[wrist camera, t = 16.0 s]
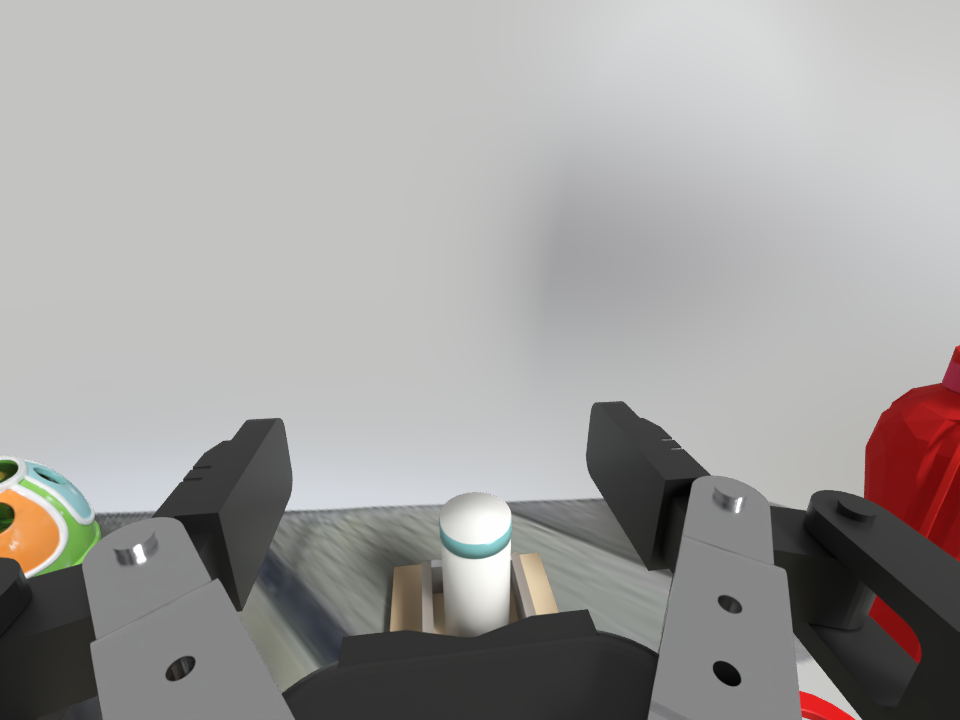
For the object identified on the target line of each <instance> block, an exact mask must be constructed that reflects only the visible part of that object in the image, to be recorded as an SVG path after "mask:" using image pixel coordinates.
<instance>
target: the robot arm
mask: <svg viewBox="0 0 960 720" xmlns="http://www.w3.org/2000/svg"><path fill="white" fill-rule="evenodd" d="M586 461H587V467H588V471H589V474H590V476H591V478H592V479H593V481H594V483H595V484H596V486H597V488H598V489H599V491H600V492H601V494H602V496H603V497H604V499H605V501H606V502H607V504H608V506H609V507H610V509H611V510H612V512H613V514H614V515H615V517H616V519H617V520H618V522H619V523H620V525H621V527H622V528H623V530H624V532H625V533H626V535H627V536H628V538H629V540H630V541H631V543H632V545H633V546H634V548H635V549H636V551H637V553H638V554H639V556H640V558H641V559H642V561H643V562H644V564H645V566H646V567H647V569H648V571H651V570H660V569H670V570H671V572H672V573H673V577H672V582H671V586H670V591H669V596H668V601H667V606H666V611H665V616H664V622H663V627H662V632H661V637H660V642H659V647H658V652H657V653H656V652H654V651H653V650H651V649H649V648H648V647H646V646H644V645H642V644H639V643H637V642H635V641H633V640H631V639H628V638H625V637H622V636H620V635H616V634H612V633H608V632H604V631H599V630H596V628H595V626H594V623H593V621H592V619H591V616H590V614H589V611H588V609H587V610H578V611H569V612H560V613H551V614H542V615H534V616H529V617H526V618H524V619H521V620H518V621H516V622H513V623H511V624H508V625H505V626H503V627H500V628H497V629H495V630H492V631H490V632H487V633H484V634H482V635H479V636H476V637H471V638H466V637H457V636H450V635H442V634H434V633H427V632H419V631H411V630H401V631H392V632H383V633H374V634H366V635H357V636H348V637H343V640H342V646H341V652H340V658H339V660H338V661H336V662H333V663H331V664H328V665H326V666H324V667H322V668H320V669H318V670H316V671H314V672H312V673H311V674H309V675H307V676H306V677H304V678H302V679H301V680H299V681H298V682H296V683H295V684H294V685H292V686H291V687H290V688H288V689H287V690H286V691H284V692H283V693H282V694H281V693H280V691H279V689H278V687H277V685H276V683H275V681H274V680H273V678H272V676H271V674H270V672H269V670H268V669H267V667H266V665H265V663H264V661H263V659H262V657H261V656H260V654H259V652H258V650H257V648H256V646H255V644H254V643H253V641H252V639H251V637H250V635H249V633H248V631H247V630H246V628H245V626H244V624H243V622H242V620H241V619H240V617H239V615H238V613H237V612H238V611H242V610H243V608H244V605H245V603H246V601H247V598H248V596H249V594H250V591H251V589H252V586H253V584H254V582H255V579H256V577H257V575H258V572H259V570H260V567H261V565H262V563H263V560H264V558H265V555H266V553H267V551H268V548H269V546H270V544H271V541H272V539H273V536H274V534H275V532H276V529H277V527H278V525H279V522H280V520H281V517H282V515H283V513H284V510H285V508H286V505H287V503H288V501H289V498H290V495H291V491H292V469H291V463H290V456H289V450H288V444H287V438H286V432H285V426H284V423H283V421H282V420H281V419H280V418H273V419H253V420H247V421H246V422H245V423H244V424H243V426H242V427H241V428H240V429H239V431H238V432H237V433H236V435H235V436H234V438H233V439H232V440H230V441H222V442H221V443H219V444H218V445H216V446H215V447H213V448H212V449H210V450H209V451H207V452H206V453H204V454H203V456H202V457H201V458H200V459H199V460H198V462H197V463H196V464H195V465H194V466H193V470H190V471H189V473H188V474H187V475H186V476H185V477H184V479H183V482H181V483H179V485H178V486H177V487H176V488H175V490H174V491H173V492H172V493H171V494H170V496H169V497H168V498H167V499H166V501H165V502H164V503H163V504H162V505H161V507H160V508H159V509H158V510H157V511H156V513H155V514H154V515H153V516H152V518H150V519H145V520H141V521H137V522H135V523H132V524H129V525H126V526H124V527H122V528H120V529H118V530H116V531H114V532H112V533H110V534H109V535H107V536H106V537H104V538H103V539H101V540H100V541H99V542H97V543H96V544H95V545H94V546H93V547H92V548H91V549H90V550H89V551H88V553H87V554H86V556H85V557H84V560H83V563H81V564H78V565H75V566H71V567H67V568H64V569H60V570H56V571H53V572H49V573H46V574H42V575H38V576H35V577H31V578H28V579H26V577H25V575H24V573H23V570H22V568H21V566H20V564H19V563H18V561H16V560H14V559H11V558H4V557H0V720H61V718H62V716H63V715H64V713H65V712H66V710H67V708H68V707H69V706H71V705H73V704H76V703H79V702H81V701H84V700H86V699H89V698H92V697H94V696H97V695H99V700H100V706H101V712H102V717H103V720H802V714H801V705H800V695H799V685H798V676H797V666H796V657H795V647H794V638H793V633H794V634H795V635H796V637H797V638H798V639H799V640H800V642H801V643H802V644H803V645H804V647H805V648H806V649H807V651H808V652H809V653H810V654H811V656H812V657H813V658H814V659H815V661H816V662H817V663H818V664H819V666H820V667H821V668H822V669H823V671H824V672H825V673H826V674H827V676H828V677H829V678H830V679H831V680H832V682H833V683H834V685H835V686H836V687H837V688H838V689H839V691H840V692H841V693H842V695H843V696H844V697H845V698H846V700H847V701H848V702H849V703H850V705H851V706H852V707H853V708H854V710H855V711H856V712H857V713H858V715H859V716H860V717H861V719H862V720H960V562H959V561H958V560H956V559H955V558H953V557H952V556H951V555H949V554H948V553H946V552H945V551H944V550H942V549H941V548H939V547H938V546H937V545H935V544H934V543H932V542H931V541H930V540H928V539H927V538H925V537H924V536H923V535H921V534H920V533H918V532H917V531H916V530H914V529H913V528H911V527H910V526H909V525H907V524H906V523H904V522H903V521H902V520H900V519H899V518H897V517H896V516H895V515H893V514H892V513H890V512H889V511H887V510H886V509H884V508H883V507H881V506H879V505H878V504H876V503H874V502H872V501H869V500H867V499H865V498H862V497H859V496H856V495H853V494H849V493H846V492H841V491H833V490H823V491H818V492H816V493H814V494H813V495H812V496H811V499H810V502H809V506H808V508H807V511H804V510H797V509H790V508H782V507H775V506H769V503H768V501H767V499H766V498H765V497H764V496H763V495H762V494H761V493H760V492H758V491H757V490H756V489H754V488H752V487H751V486H749V485H747V484H745V483H743V482H740V481H738V480H735V479H731V478H727V477H722V476H711V475H710V474H709V473H708V472H707V471H706V470H705V469H704V468H703V467H702V466H701V465H700V464H699V463H698V462H696V461H695V460H694V458H692V457H691V456H690V455H689V454H688V453H687V452H686V451H685V450H684V449H681V446H680V445H679V444H678V443H677V442H676V441H675V440H672V437H670V436H669V435H668V434H667V433H666V432H665V431H664V430H663V429H662V428H661V427H660V426H658V425H656V424H654V423H652V422H650V421H648V420H646V419H644V418H639V417H638V416H637V415H636V414H635V413H634V412H633V411H632V410H631V409H630V408H629V407H628V406H627V405H626V404H625V403H624V402H622V401H618V402H598V403H594V404H593V406H592V409H591V415H590V424H589V433H588V443H587V452H586ZM876 595H877V596H878V597H879V598H880V599H881V600H883V601H884V602H885V603H886V604H887V605H888V606H889V607H890V608H891V609H892V610H893V611H894V612H895V613H897V614H898V615H899V616H900V617H901V618H902V619H903V620H904V621H905V622H906V623H907V624H908V625H909V626H910V627H911V629H912V630H913V632H914V633H915V635H916V637H917V638H918V641H919V643H920V647H921V653H922V655H921V660H920V662H919V664H918V663H917V662H916V661H915V660H914V659H913V658H912V657H911V656H910V655H909V654H908V653H907V652H906V651H905V650H904V649H903V648H902V647H901V646H900V645H899V644H898V643H897V642H896V641H895V640H894V639H893V638H892V637H891V636H890V635H889V634H888V633H887V632H886V631H885V630H884V629H883V628H882V627H881V626H880V625H879V624H878V623H877V622H876V621H875V620H874V619H873V618H872V617H870V616H869V615H868V614H869V611H870V609H871V607H872V604H873V602H874V600H875V598H876Z"/></svg>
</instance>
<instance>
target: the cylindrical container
mask: <svg viewBox="0 0 960 720" xmlns="http://www.w3.org/2000/svg"><path fill="white" fill-rule="evenodd" d="M439 526H440V539H441V552H442V572H443V591H444V611H445V630H446V635H450V636H457V637H466V638H471V637H476V636H479V635H482V634H484V633H487V632H490V631H492V630H495V629H497V628H500V627H503V626H505V625H508V624H509V620H510V551H511V528H512V518H511V511H510V509H509V507H508V505H507V504H506V503H505V502H504V501H503V500H501V499H500V498H498V497H496V496H494V495H491V494H487V493H478V492H473V493H466V494H462V495H459V496H456V497H454V498H452V499H451V500H449V501H448V502H447V503H446V504H445V505H444V506H443V508H442V509H441V512H440V518H439Z"/></svg>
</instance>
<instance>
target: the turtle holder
mask: <svg viewBox="0 0 960 720" xmlns="http://www.w3.org/2000/svg"><path fill="white" fill-rule="evenodd" d="M94 518H95V513H94V509H93V508H92V506H91V505H90V504H89V503H88V502H87V501H86V499H85V498H84V496H83V495H82V493H81V492H80V491H79V490H78V489H77V488H76V487H75V486H74V485H73V484H72V483H71V482H69V481H68V480H67V479H66V478H64V477H63V476H61V475H60V474H58V473H56V472H55V471H54V470H53V469H52V468H50V467H48V466H46V465H43V464H41V463H39V462H35V461H32V460H26V459H21V458H19V457H16V456H11V455H10V456H9V455H8V456H7V455H6V456H0V557H4V558H11V559H14V560H16V561H18V563H19V564H20V566H21V568H22V570H23V573H24V575H25V577H26V579H28V578H31V577H35V576H38V575H42V574H46V573H49V572H53V571H56V570H60V569H64V568H67V567H71V566H75V565H78V564H81V563H83V560H84V557H85V556H86V554H87V553H88V551H89V550H90V549H91V548H92V547H93V546H94V545H95V544H96V543H97V542H99V541H100V540H101V530H100V527H99V525H98V523H97V522H96V521H95V520H94Z"/></svg>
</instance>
